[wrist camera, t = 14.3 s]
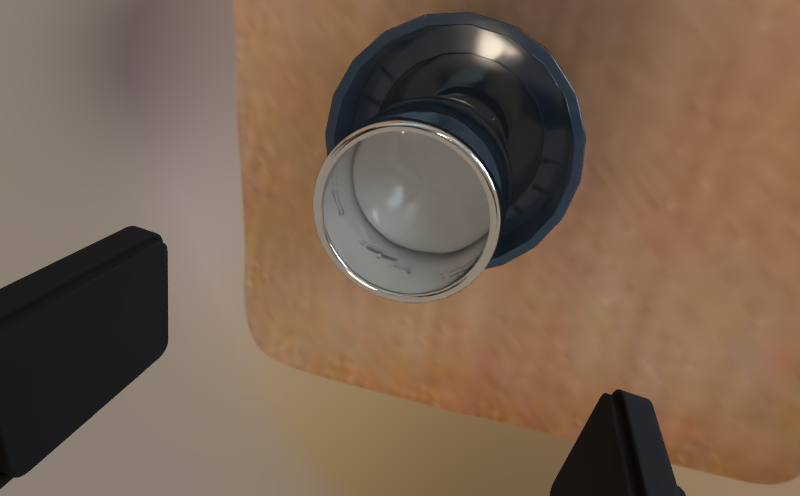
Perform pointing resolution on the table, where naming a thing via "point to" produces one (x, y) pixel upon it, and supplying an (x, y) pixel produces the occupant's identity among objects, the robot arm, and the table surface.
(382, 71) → the dark blue bowl
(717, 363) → the table surface
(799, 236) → the table surface
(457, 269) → the silver metal tumbler
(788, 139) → the table surface
